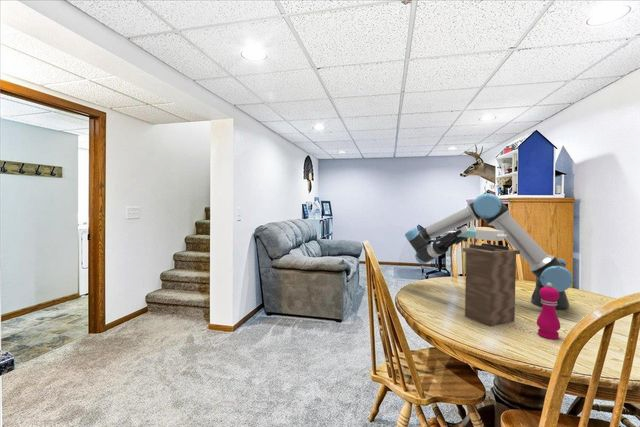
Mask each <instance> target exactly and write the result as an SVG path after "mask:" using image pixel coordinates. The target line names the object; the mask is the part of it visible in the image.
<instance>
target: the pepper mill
mask: <svg viewBox="0 0 640 427" xmlns="http://www.w3.org/2000/svg"><path fill="white" fill-rule="evenodd" d="M546 285H547V287H543V288H541V289H540V292H539V294H540V296H541V297H542V299H541V303H542V306H541V311H540V314H539V315H538V316H537V320H536V325H537V326H538V327H539V328H538V330H537V335H538V336H540V337H542V338H545V339H548V340H558V339H559V335H560V334H559V330H561V323H560V320H559V317H558V315H557V313H556V309H555V308H556V305H557V301H556V300H557V299H558V298H559V292H558V291H557V290H556V289H555V288H553V287H552V284H551V283H547V284H546Z"/></svg>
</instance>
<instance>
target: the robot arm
mask: <svg viewBox="0 0 640 427" xmlns="http://www.w3.org/2000/svg"><path fill="white" fill-rule="evenodd" d="M481 219H482V220H483V221H484V222H485V223H486V224H487V225H488V226H493V227H494V228H495V230H500V231H504V235H507V237H506V238H504V240H506V241H507V243H509V244H510V245H511V246H512V247H513V249H514V250H520V254H519V255H520V257H522V258H523V259H524V260H525V261H526V262H527V263H528V265H529V266H530V268H529V270H530V272H531V273H532V274H533V275H534V276H535V288H534V290H533V293H532V295H531V298H530V299H531V300H530V301H531V302H530V303H532V304H533V305H535V306H538V307H542V303H541V299H542V297H541V296H540V294H539V292H540V289H541V288H543V287H547V285H546V284H547V283H551V284H552V287H553V288H555V289H556V290H557V291H558V292H559V298H558V299H557V300H556V301H557V305H556V308H555V310H567V309H569V308H570V302H569V298H568V297H567V294H566V291H567V290H568V289H570V287H571V286H572V284H573V282H574V280H573V279H574V278H573V274H572V272H571V271H570V269H568V268H566V266H567V263H566V260H565V259H564V258H556V256H555V255H552V254H551V255H550V254H548V253H546V251H545V250H544V249H543V248H542V247H541V246H540V245H539V244H538V243H537V242H536V241H535V240H534V239H533V238H532V237H531V235H529V233H527V232H526V230H525V229H524V228H523V227H522V226H521V225H520V224H519V223H518V222H517V221H516V220H515V219H514V218H513V217H512V216H511V215H510V209H509V208H508V207H507V206H506V205H505V204H504V202H503V201H501V199H500V198H499V197H498V196H497V195H496V194H494V193H490V192H489V193H488V192H487V193H482V194H480V195H478V196H477V197H476V198H475V199H474V201H473V202H471V203H469V204H468V205H467V207H465V208H462V209H461V210H458V211H457V212H455V213H453V214H451V215H449V216H447V217H445V218H443V219H441V220H439V221H436V222H434V223H432V224H431V225H429V226H426V227H424V228H422V229H420V230H418V229H417V228H416V227H413V228H411V229H410V230H408V231H407V232H405V234H404V236H405V238H406V240H407V242H409V244H410V245H411V247H412V248H413V250H414V251H415V256H414V257H415V260H416V261H417V262H418V263H419V264H421V265H425V264H427V263H430V262H431V261H433V260H435V259H438V258H439V256H442V255H444V254H446V253H448V251H449V248H450V247H453V245H456V246H457V245H459V244H461V243H462V242H464V241H465V240H467V239H468V237H460V236H461V235H463V234H464V233H466V232H468V231H469V230H473V231H476V230H477V228H476V226H475V225H474V224H473V225H471V226H470V227H468V226H467V225H465V224H468V223H470V222H472V221H479V220H481ZM461 226H463V227H461ZM459 227H461V228H459ZM453 230H455V231H453ZM456 230H457V231H456ZM451 231H453V232H451ZM448 232H449V233H448ZM446 233H447V234H446ZM444 234H446V235H444ZM442 235H444V236H442ZM440 236H442V237H441V238H438V237H440ZM435 238H437V239H435ZM433 239H435V240H434V241H432V242H430V244H428V242H429V241H431V240H433Z"/></svg>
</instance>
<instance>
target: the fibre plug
mask: <svg viewBox="0 0 640 427" xmlns="http://www.w3.org/2000/svg"><path fill="white" fill-rule="evenodd" d="M457 230H458V229H455V232H456V231H457ZM460 237H468V238H470V239H476V240H482V241H483V240H484V241H493V242H500V241H505V238H506V237H507V235H504V231H500V230H497V229H489V228H488V229H487V228H484V229H481V228H480V229H476V231H473V230H469V231H468V232H466V233H464V234H463V235H461V236H460ZM468 238H467V239H468Z"/></svg>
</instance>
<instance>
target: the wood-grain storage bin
mask: <svg viewBox="0 0 640 427" xmlns="http://www.w3.org/2000/svg"><path fill="white" fill-rule="evenodd" d="M468 245H469V246H468V247H463V248H462V253H463V252H464V253H465V290H464V291H465V295H464V298H465V299H464V300H465V302H464V304H465V305H464V317H465V318H468V319H471V320H473V321H475V322H477V323H480V324H481V325H485V326H487V327H492V326H497V325H502V324H507V323H513V322H515V321H516V319H515V317H516V316H515V314H516V313H515V312H516V280H517V279H516V276H517V275H516V274H517V272H516V271H517V270H516V268H517V255H520V250H516V249H514V248H510V246H508V245H507V246H506V245H501V244H500V245H499V244H491V243H485V242H484V243H482V245H480V244H472V243H470V244H468Z"/></svg>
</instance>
